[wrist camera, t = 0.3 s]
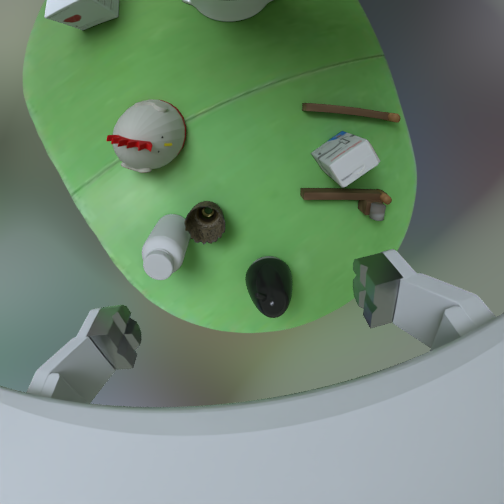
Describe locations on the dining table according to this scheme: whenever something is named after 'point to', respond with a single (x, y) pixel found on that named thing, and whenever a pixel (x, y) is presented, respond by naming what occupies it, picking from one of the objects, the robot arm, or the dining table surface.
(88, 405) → the robot arm
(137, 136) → the kitchen timer
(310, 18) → the dining table surface
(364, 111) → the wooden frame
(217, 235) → the cup
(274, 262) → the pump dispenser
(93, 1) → the supplement box
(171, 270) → the pill bottle
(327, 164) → the ink box
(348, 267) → the dining table surface
